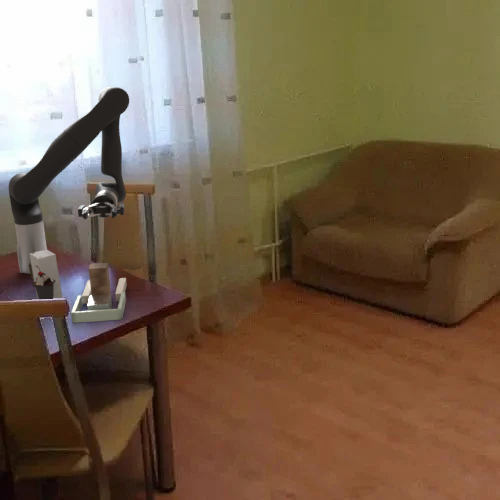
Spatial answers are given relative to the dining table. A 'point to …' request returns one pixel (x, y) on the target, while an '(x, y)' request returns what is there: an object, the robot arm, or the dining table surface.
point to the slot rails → (120, 289)
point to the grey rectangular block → (99, 304)
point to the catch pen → (97, 312)
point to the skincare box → (46, 268)
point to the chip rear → (100, 297)
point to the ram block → (99, 279)
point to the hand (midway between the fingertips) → (99, 215)
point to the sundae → (44, 286)
